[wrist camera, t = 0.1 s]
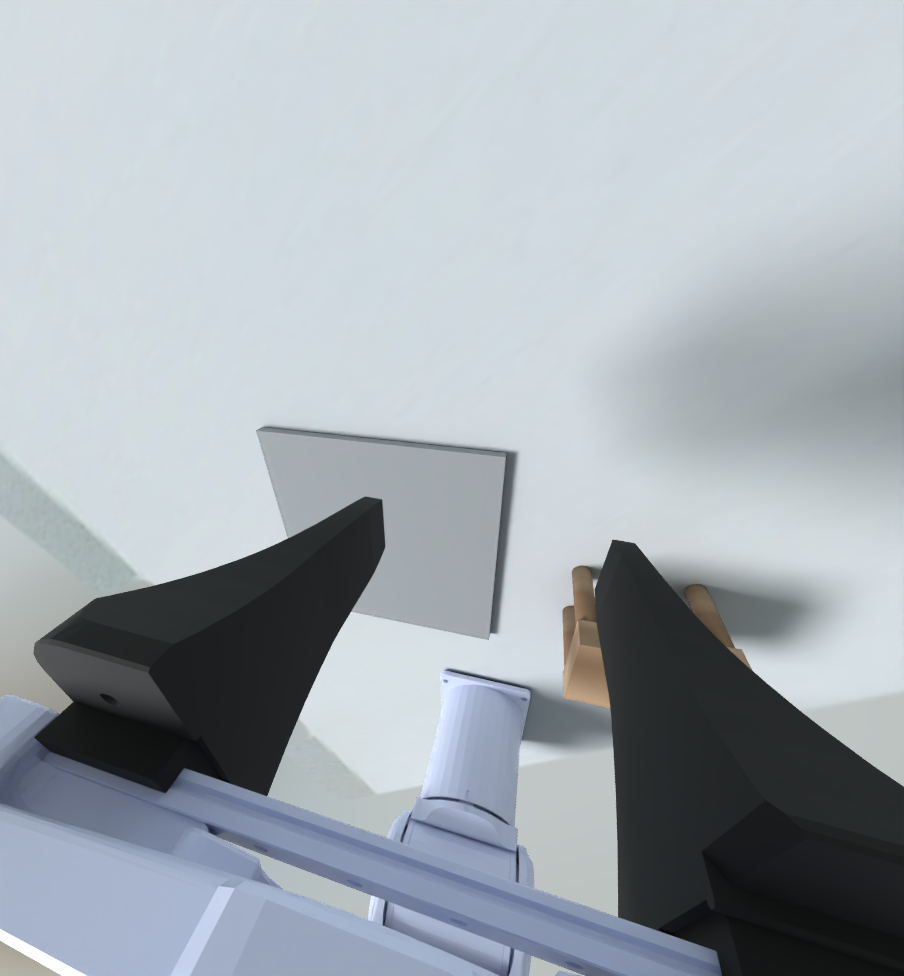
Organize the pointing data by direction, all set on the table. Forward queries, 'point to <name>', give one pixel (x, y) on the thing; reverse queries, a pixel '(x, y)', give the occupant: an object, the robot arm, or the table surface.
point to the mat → (403, 518)
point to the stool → (583, 643)
